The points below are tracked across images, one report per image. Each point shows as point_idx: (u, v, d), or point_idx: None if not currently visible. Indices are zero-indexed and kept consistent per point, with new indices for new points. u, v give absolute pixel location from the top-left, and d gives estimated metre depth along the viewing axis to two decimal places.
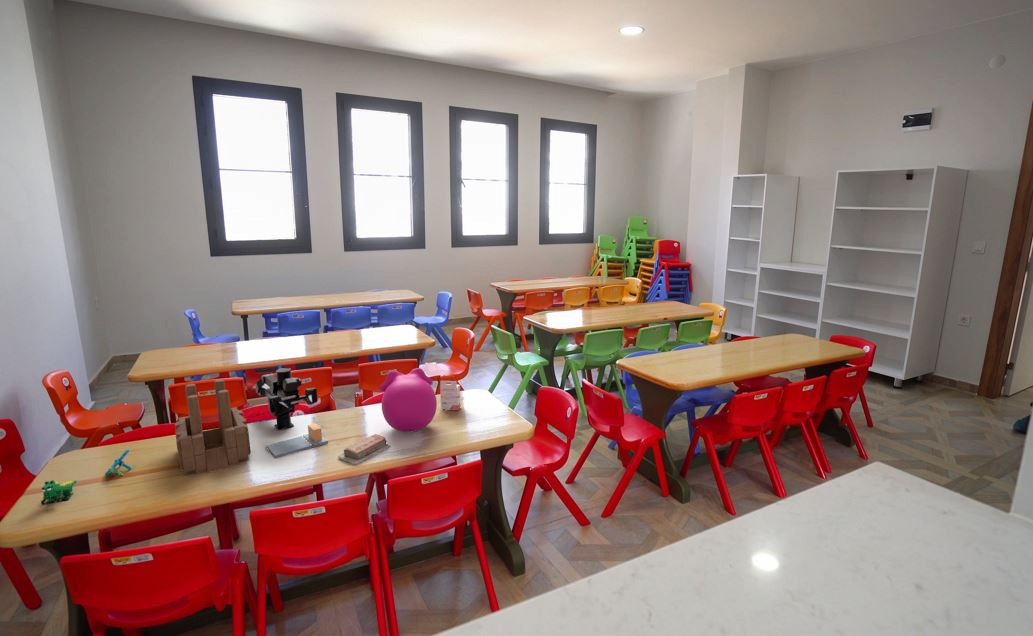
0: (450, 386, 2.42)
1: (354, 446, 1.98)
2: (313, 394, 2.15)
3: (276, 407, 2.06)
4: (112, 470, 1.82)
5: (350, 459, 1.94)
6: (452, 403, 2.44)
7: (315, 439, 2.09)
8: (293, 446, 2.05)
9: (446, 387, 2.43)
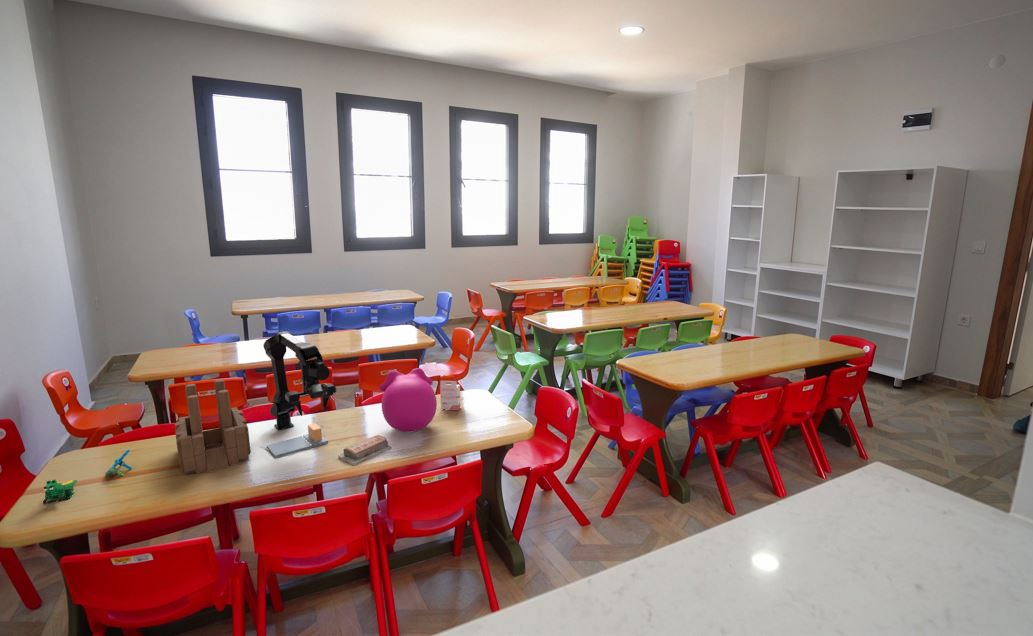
0: (450, 386, 2.42)
1: (354, 446, 1.98)
2: None
3: None
4: (112, 470, 1.82)
5: (349, 459, 1.95)
6: (452, 403, 2.44)
7: (315, 439, 2.09)
8: (293, 446, 2.05)
9: (446, 387, 2.43)
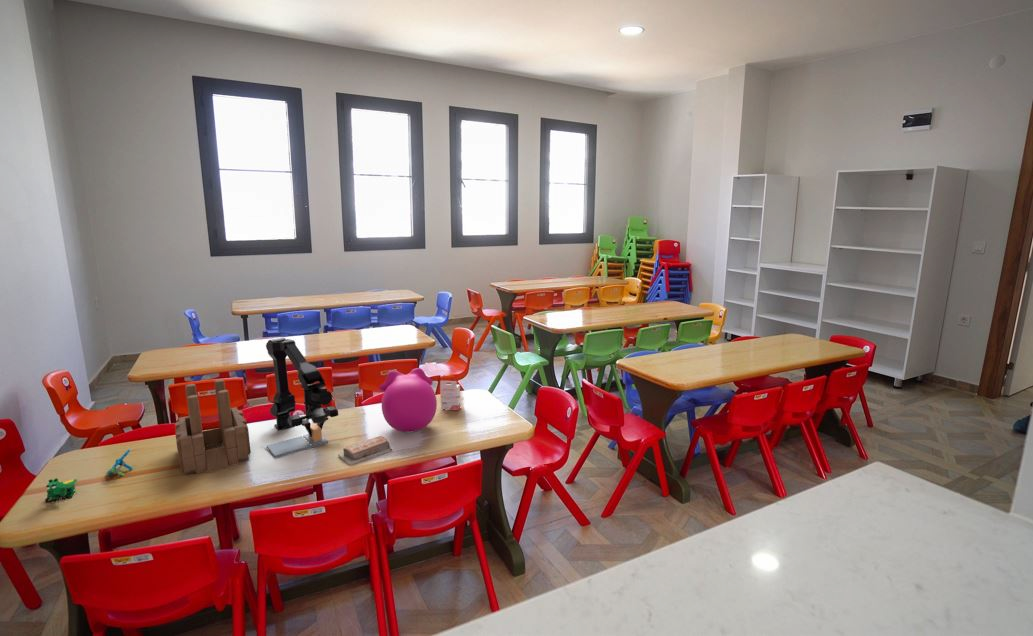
0: (450, 386, 2.42)
1: (353, 446, 1.98)
2: None
3: None
4: (112, 470, 1.82)
5: (347, 459, 1.95)
6: (452, 403, 2.44)
7: (315, 439, 2.09)
8: (293, 446, 2.05)
9: (446, 387, 2.43)
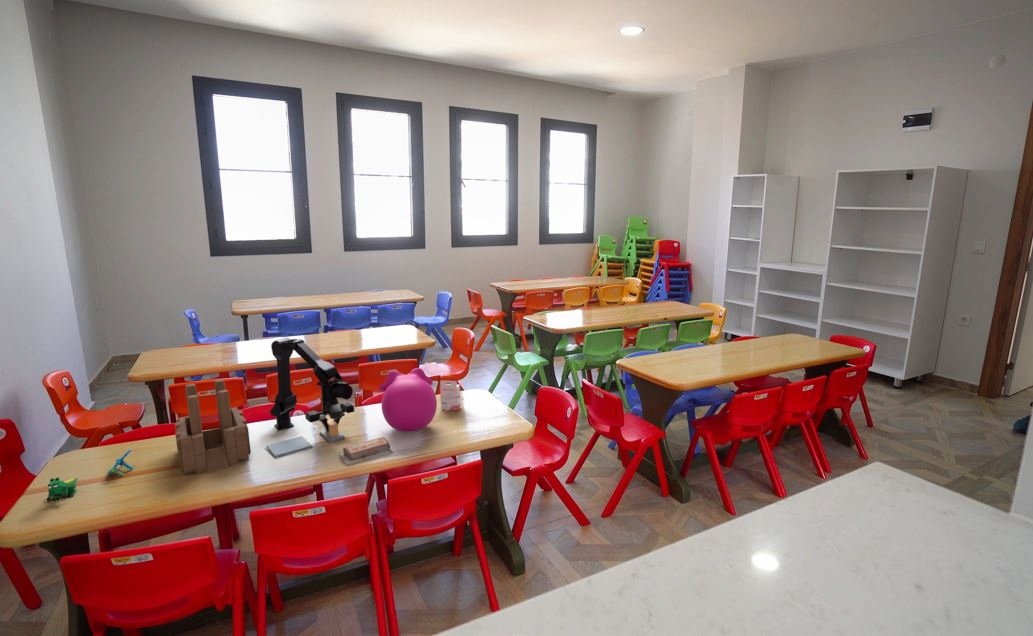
0: (450, 386, 2.42)
1: (353, 446, 1.98)
2: None
3: None
4: (112, 470, 1.82)
5: (346, 458, 1.95)
6: (452, 403, 2.44)
7: (332, 434, 2.14)
8: (293, 446, 2.05)
9: (446, 387, 2.43)
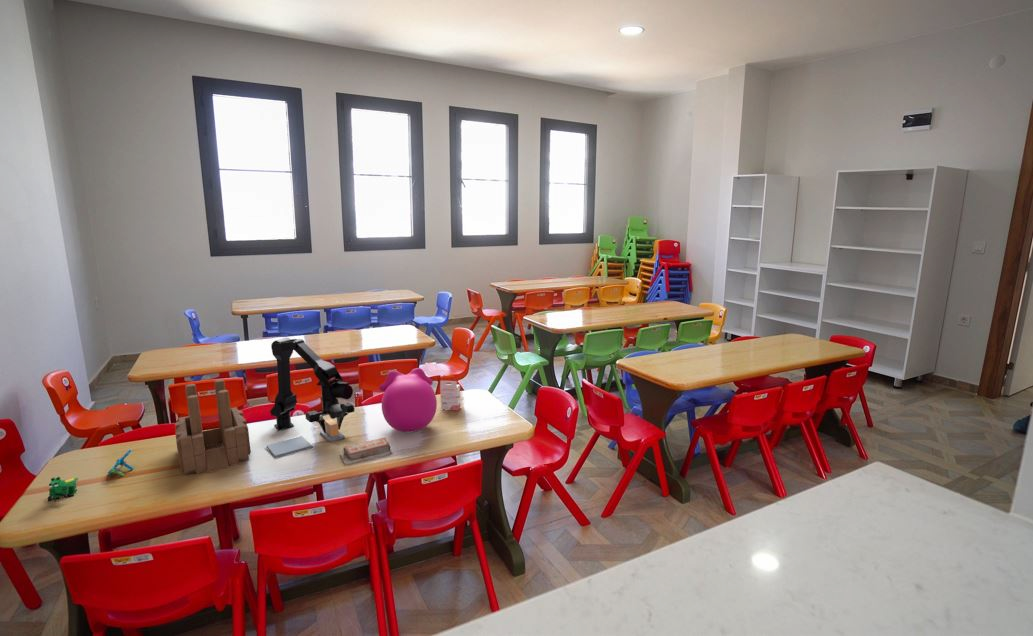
0: (450, 386, 2.42)
1: (353, 446, 1.98)
2: None
3: None
4: (112, 470, 1.82)
5: (345, 458, 1.95)
6: (452, 403, 2.44)
7: (332, 434, 2.14)
8: (293, 446, 2.05)
9: (446, 387, 2.43)
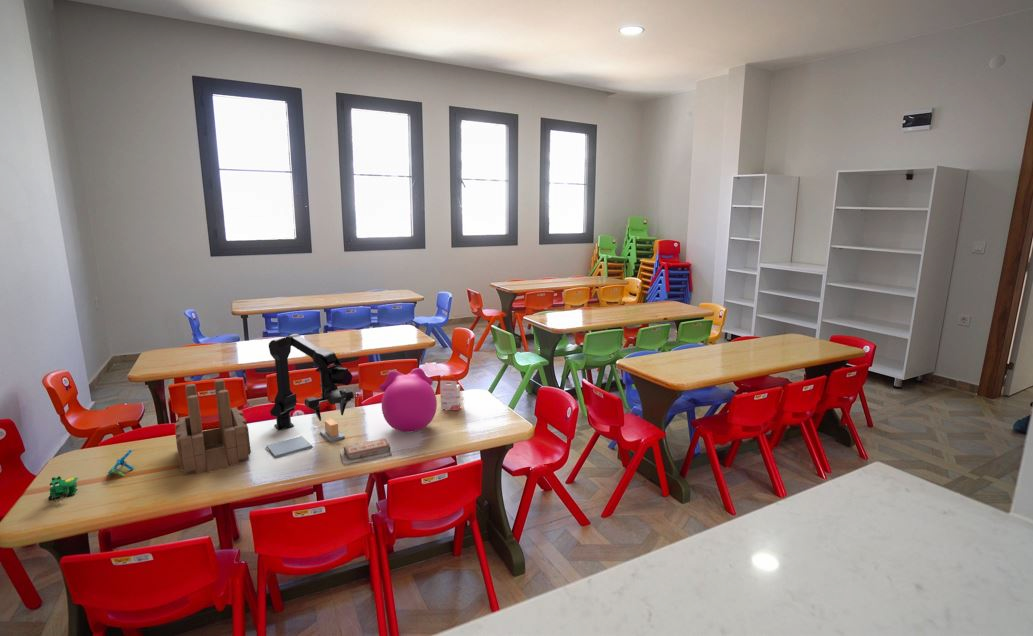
0: (450, 386, 2.42)
1: (353, 446, 1.98)
2: None
3: None
4: (112, 470, 1.82)
5: (344, 457, 1.96)
6: (452, 403, 2.44)
7: (332, 434, 2.14)
8: (293, 446, 2.05)
9: (446, 387, 2.43)
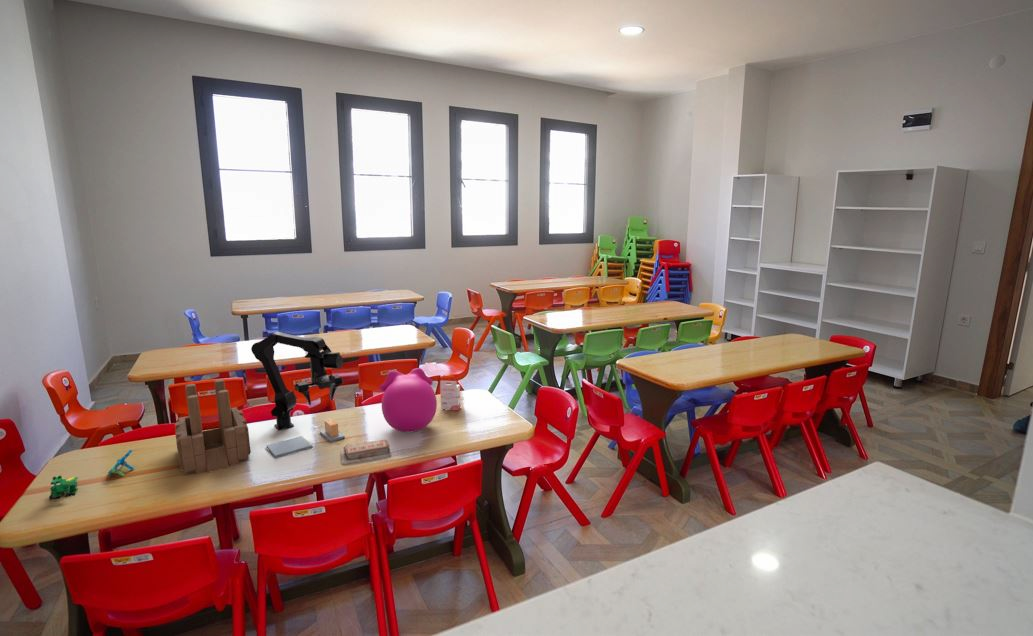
0: (450, 386, 2.42)
1: (353, 446, 1.98)
2: None
3: None
4: (112, 470, 1.82)
5: (344, 457, 1.96)
6: (452, 403, 2.44)
7: (332, 434, 2.14)
8: (293, 446, 2.05)
9: (446, 387, 2.43)
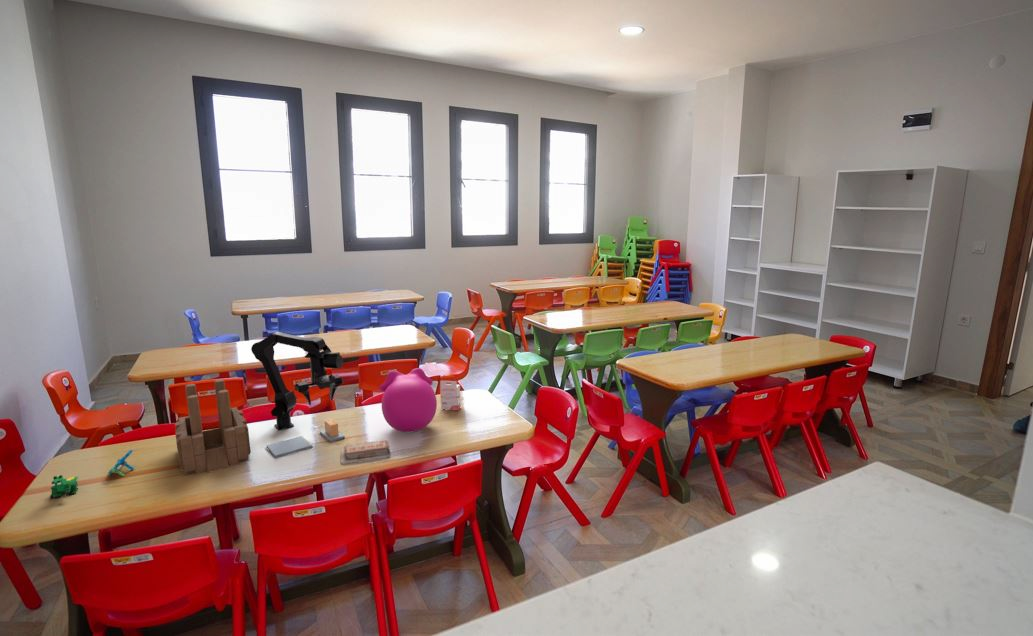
0: (450, 386, 2.42)
1: (353, 446, 1.98)
2: None
3: None
4: (112, 470, 1.82)
5: (343, 457, 1.96)
6: (452, 403, 2.44)
7: (332, 434, 2.14)
8: (293, 446, 2.05)
9: (446, 387, 2.43)
